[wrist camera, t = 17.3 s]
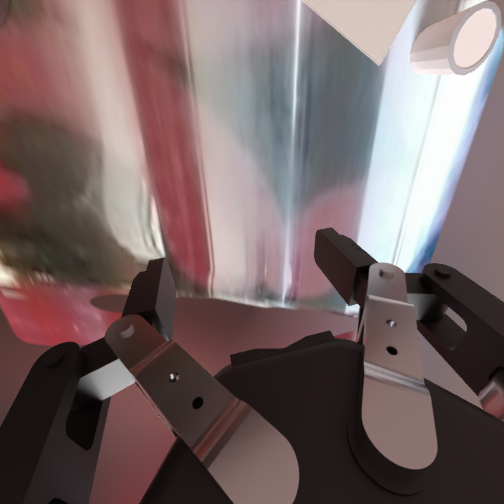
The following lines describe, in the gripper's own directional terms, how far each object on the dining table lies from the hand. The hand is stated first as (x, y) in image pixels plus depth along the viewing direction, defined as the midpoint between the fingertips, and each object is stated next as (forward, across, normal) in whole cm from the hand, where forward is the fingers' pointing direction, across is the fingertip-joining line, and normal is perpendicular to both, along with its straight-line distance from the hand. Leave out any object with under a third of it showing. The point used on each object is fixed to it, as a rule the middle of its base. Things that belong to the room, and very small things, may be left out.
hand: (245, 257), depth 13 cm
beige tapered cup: (+28, -34, -10) cm, 45 cm away
